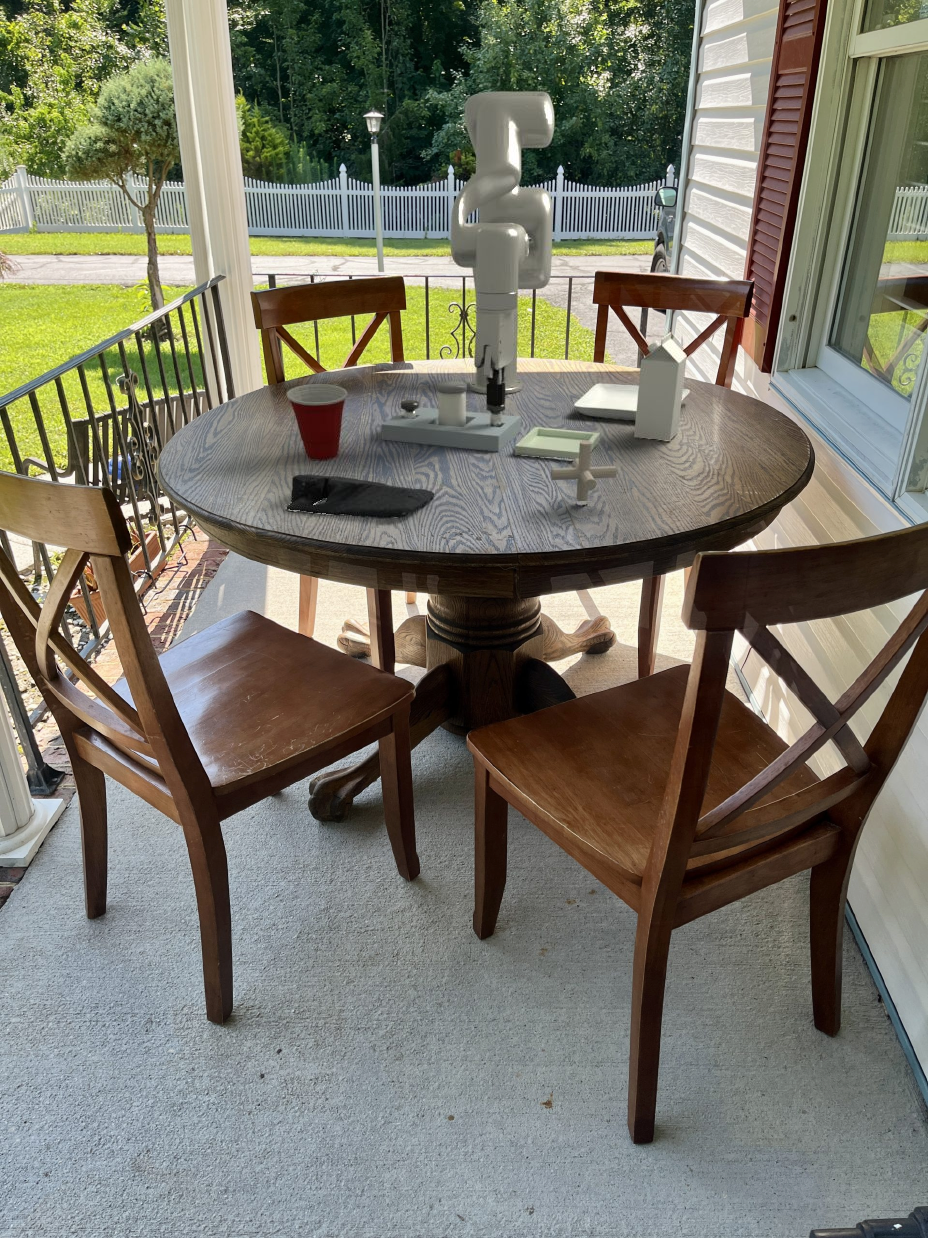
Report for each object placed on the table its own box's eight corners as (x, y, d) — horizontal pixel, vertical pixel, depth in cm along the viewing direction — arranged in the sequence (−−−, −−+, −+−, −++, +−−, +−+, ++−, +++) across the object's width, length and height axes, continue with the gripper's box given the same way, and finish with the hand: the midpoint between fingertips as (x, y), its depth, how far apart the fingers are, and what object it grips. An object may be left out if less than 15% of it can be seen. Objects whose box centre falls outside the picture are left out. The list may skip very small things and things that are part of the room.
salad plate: (570, 420, 177) (571, 403, 176) (595, 396, 195) (596, 381, 193) (672, 430, 170) (674, 413, 169) (689, 404, 188) (690, 388, 186)
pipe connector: (545, 493, 138) (547, 434, 133) (605, 491, 139) (610, 431, 134) (556, 516, 129) (559, 453, 124) (620, 514, 130) (625, 451, 125)
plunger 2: (489, 428, 166) (489, 400, 163) (507, 430, 165) (507, 402, 162) (483, 433, 163) (483, 405, 160) (501, 435, 162) (501, 406, 159)
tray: (534, 435, 166) (535, 426, 166) (599, 442, 162) (600, 433, 162) (514, 455, 156) (514, 445, 155) (583, 462, 152) (584, 453, 151)
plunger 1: (406, 426, 172) (405, 399, 169) (422, 427, 171) (421, 400, 168) (398, 431, 169) (397, 403, 166) (415, 432, 168) (414, 405, 165)
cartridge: (444, 430, 170) (443, 380, 166) (471, 432, 169) (470, 382, 164) (433, 438, 166) (431, 386, 161) (460, 440, 164) (460, 389, 159)
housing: (411, 420, 177) (410, 406, 175) (520, 431, 169) (521, 416, 168) (382, 439, 165) (381, 424, 164) (498, 451, 158) (498, 436, 156)
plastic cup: (303, 468, 150) (296, 401, 144) (285, 452, 158) (278, 388, 153) (360, 459, 154) (356, 393, 149) (340, 443, 163) (335, 381, 157)
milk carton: (678, 432, 167) (689, 333, 158) (669, 442, 162) (681, 340, 153) (642, 428, 170) (652, 330, 161) (633, 438, 164) (642, 337, 155)
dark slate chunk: (404, 531, 126) (403, 501, 124) (276, 513, 133) (273, 484, 130) (442, 496, 139) (441, 469, 136) (323, 482, 145) (321, 455, 143)
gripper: (490, 296, 159) (489, 394, 168) (462, 306, 147) (463, 411, 156) (528, 297, 157) (526, 396, 166) (503, 308, 145) (502, 415, 153)
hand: (495, 403), depth 161 cm, fingers closed
